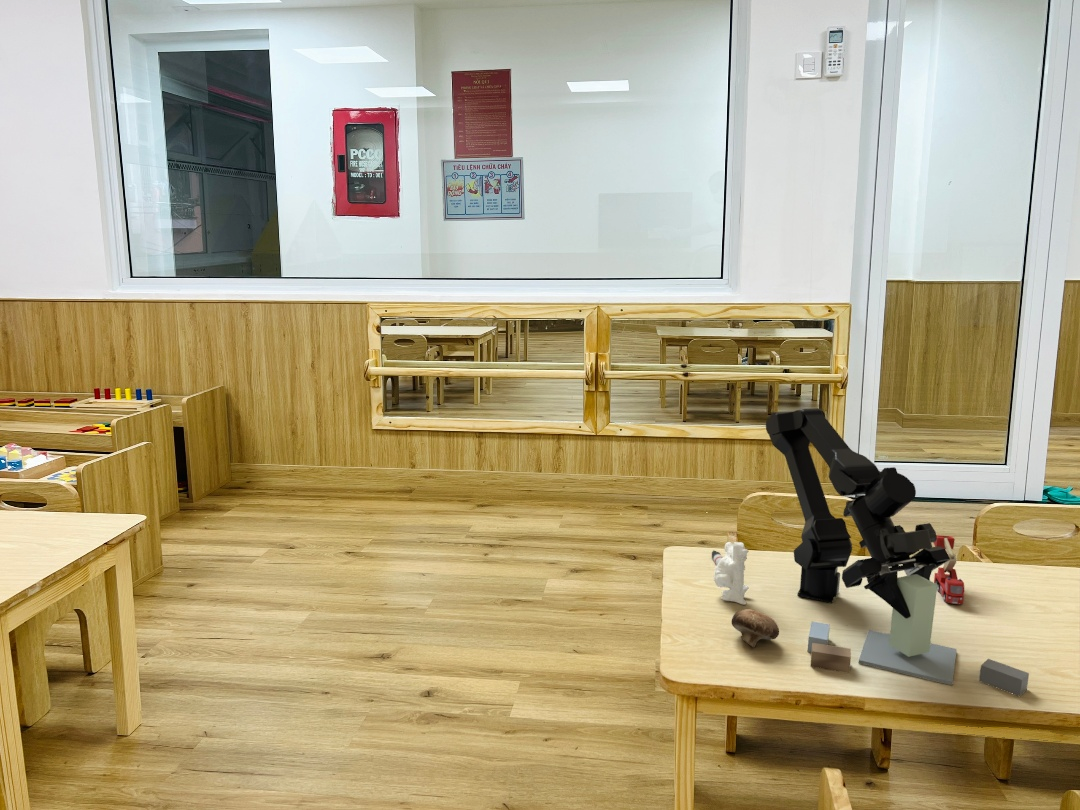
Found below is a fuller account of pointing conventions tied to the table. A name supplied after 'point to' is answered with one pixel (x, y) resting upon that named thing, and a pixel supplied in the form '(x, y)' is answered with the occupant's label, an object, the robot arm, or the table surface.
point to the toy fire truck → (948, 582)
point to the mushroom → (754, 626)
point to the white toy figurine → (732, 572)
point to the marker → (716, 556)
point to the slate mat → (909, 659)
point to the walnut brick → (831, 657)
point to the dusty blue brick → (818, 634)
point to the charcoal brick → (1004, 677)
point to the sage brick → (914, 616)
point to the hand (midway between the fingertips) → (919, 615)
